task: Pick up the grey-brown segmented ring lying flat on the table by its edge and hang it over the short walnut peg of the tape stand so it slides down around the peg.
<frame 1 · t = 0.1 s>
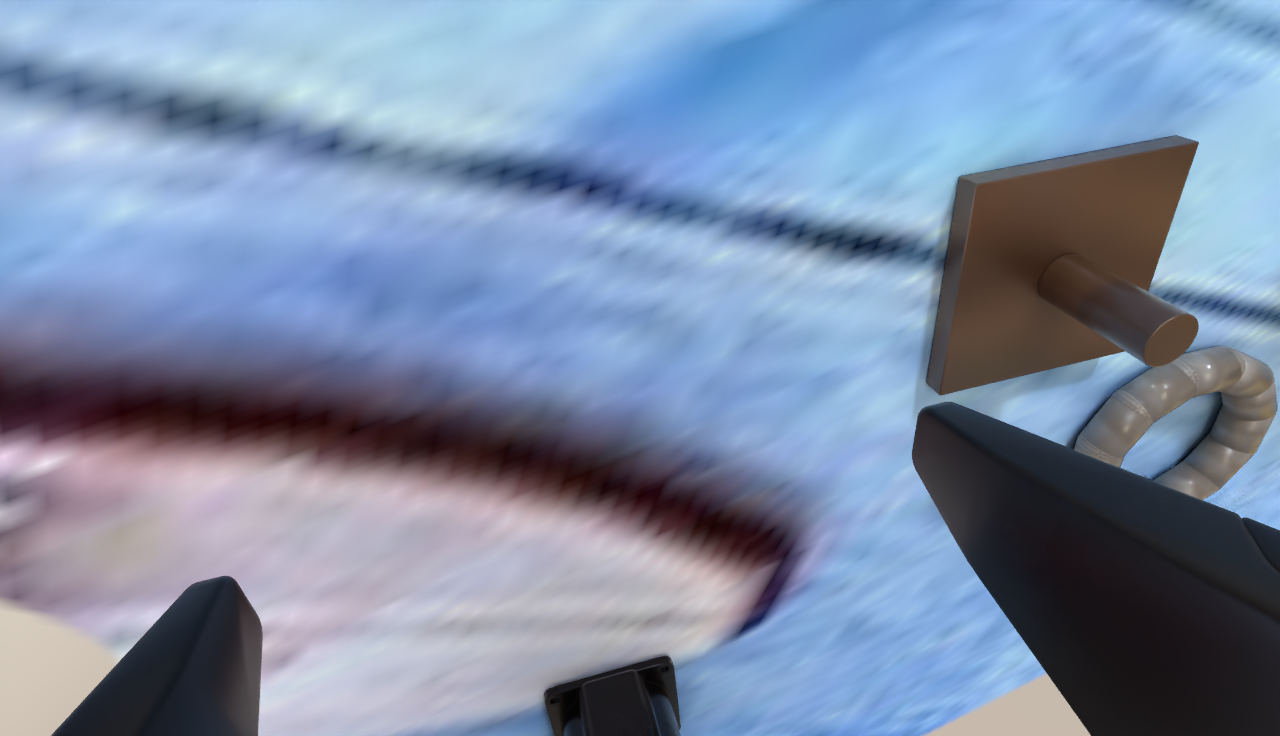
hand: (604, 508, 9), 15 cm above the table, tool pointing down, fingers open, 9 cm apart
tape stand: (1042, 266, 28), on the table
grey-brown segmented ring: (1169, 443, 35), point 1 cm above the table
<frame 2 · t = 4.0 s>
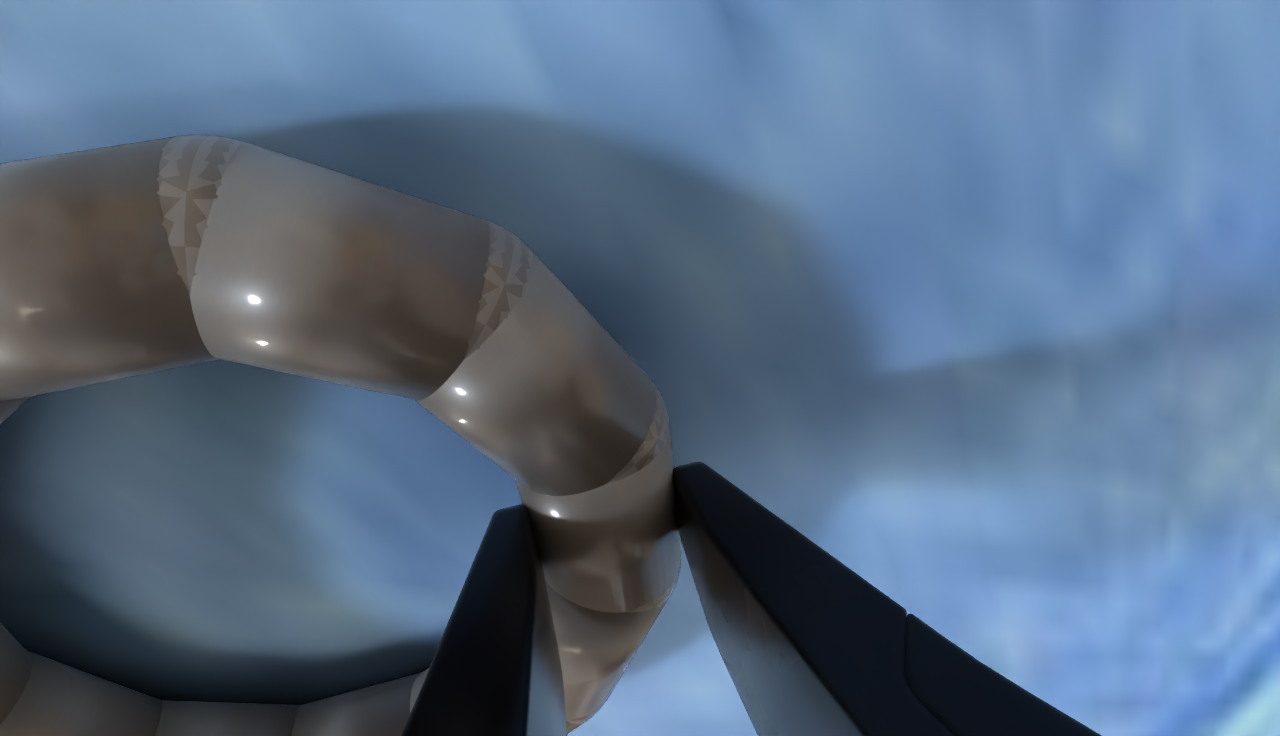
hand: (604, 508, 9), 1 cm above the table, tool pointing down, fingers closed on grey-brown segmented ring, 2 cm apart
grey-brown segmented ring: (267, 578, 9), point 1 cm above the table, touching gripper
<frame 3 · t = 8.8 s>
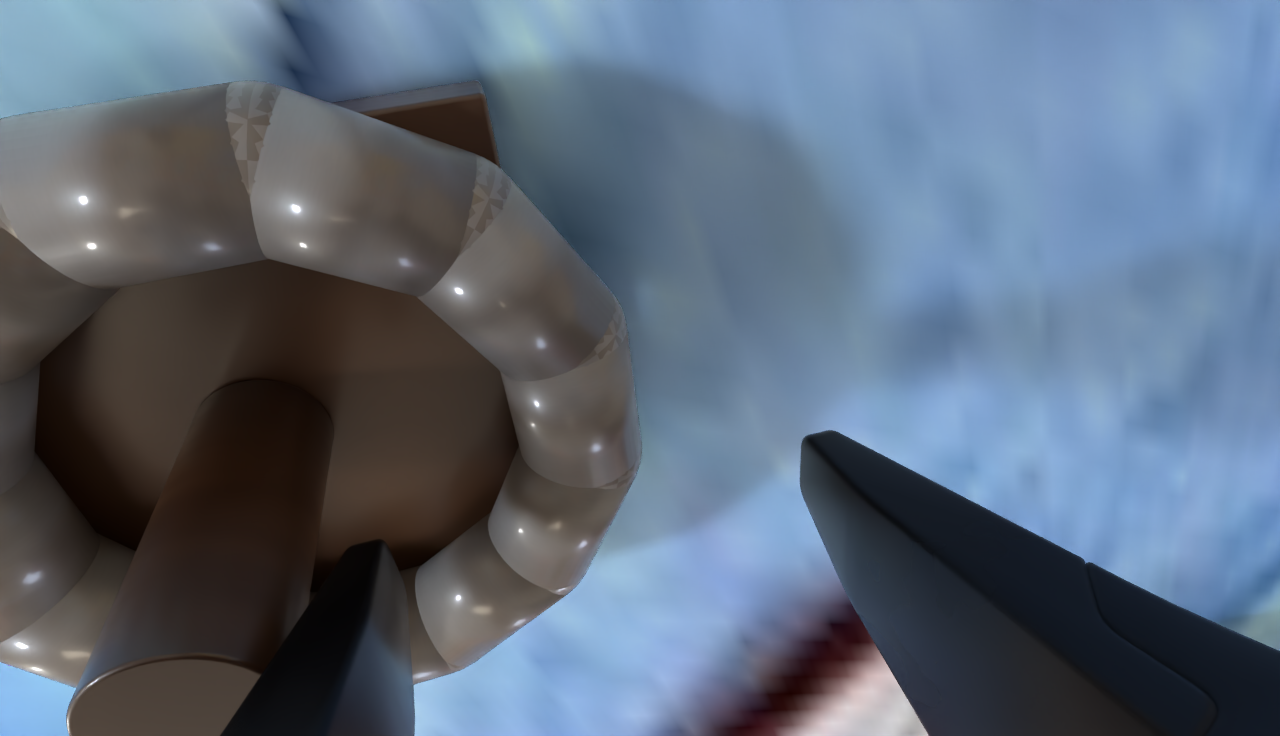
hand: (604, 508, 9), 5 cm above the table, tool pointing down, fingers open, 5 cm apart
tape stand: (275, 396, 12), on the table
grey-brown segmented ring: (297, 460, 11), point 2 cm above the table, touching tape stand
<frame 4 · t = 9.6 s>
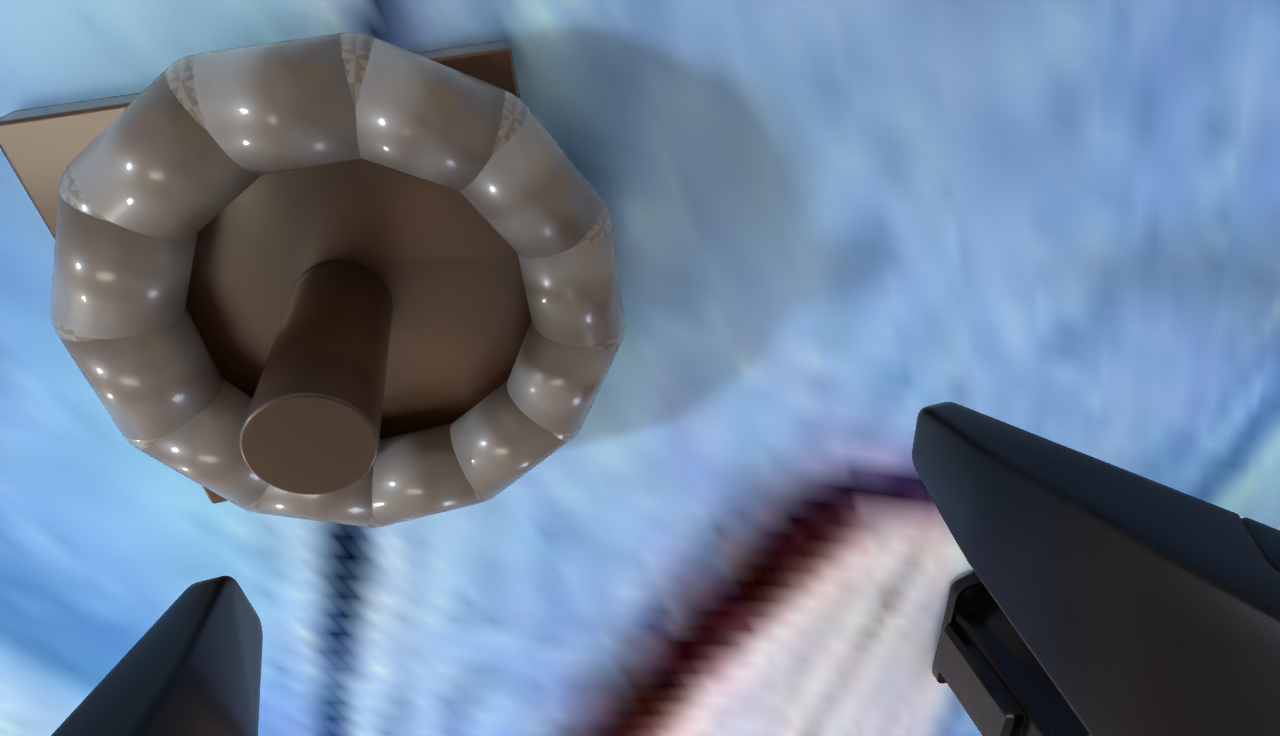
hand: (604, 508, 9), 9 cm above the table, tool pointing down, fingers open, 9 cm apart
tape stand: (347, 284, 16), on the table
grey-brown segmented ring: (369, 319, 14), point 2 cm above the table, touching tape stand
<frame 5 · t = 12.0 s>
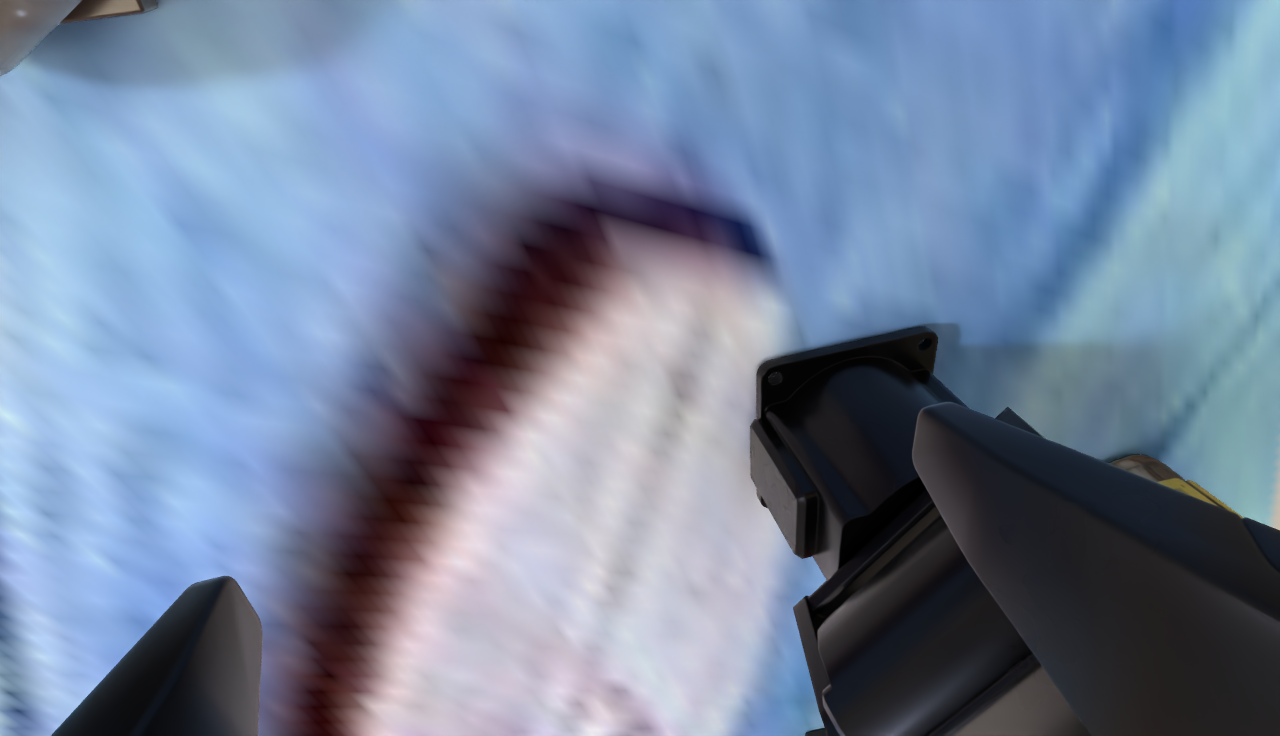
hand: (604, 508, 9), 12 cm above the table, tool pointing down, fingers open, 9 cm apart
sauce bottle: (1100, 498, 33), on the table
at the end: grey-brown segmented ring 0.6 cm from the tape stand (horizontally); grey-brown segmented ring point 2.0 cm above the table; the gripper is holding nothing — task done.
